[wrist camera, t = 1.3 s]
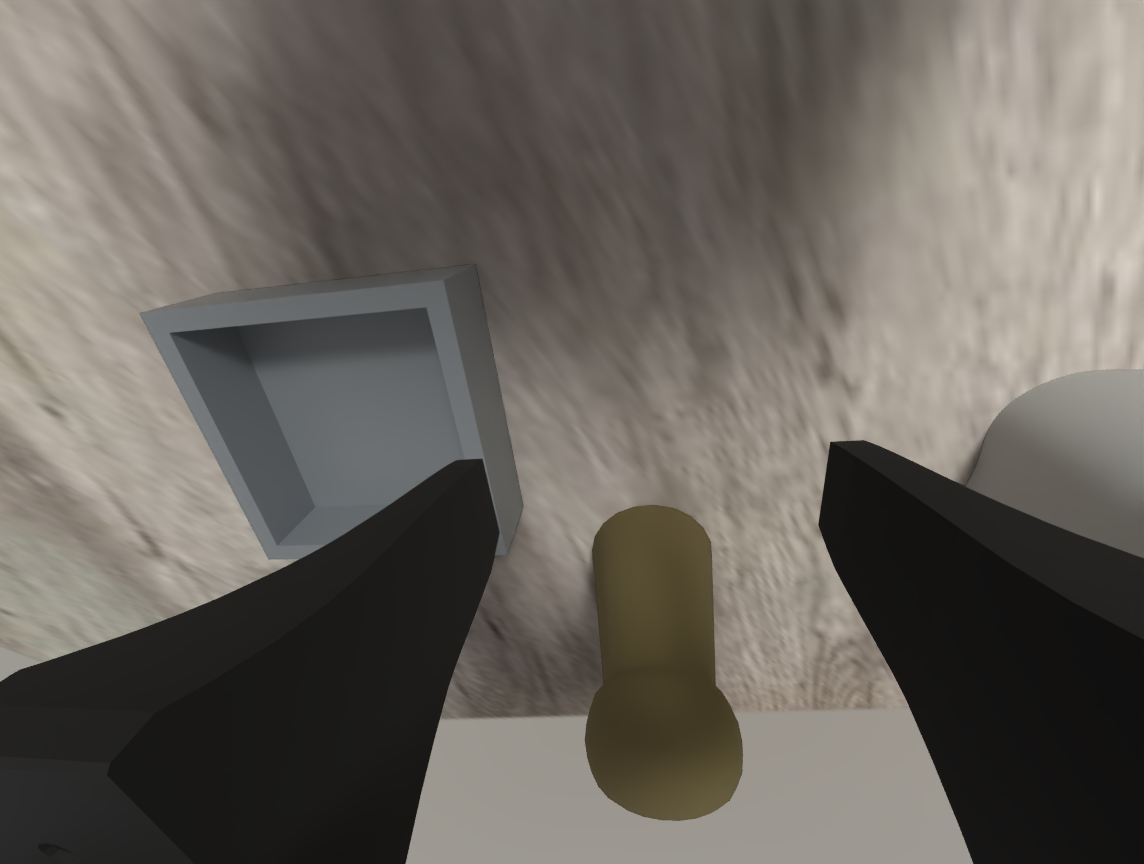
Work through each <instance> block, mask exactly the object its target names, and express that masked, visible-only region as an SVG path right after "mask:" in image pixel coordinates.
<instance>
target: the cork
mask: <svg viewBox="0 0 1144 864" xmlns="http://www.w3.org/2000/svg"><path fill="white" fill-rule="evenodd" d="M592 552H593V564H594V575H595V587H596V599H597V611H598V623H599V635H600V647H601V658H602V670H603V682H604V684H603V685H602V687H601V688H600V689H599V690H598V691H597V693H596V694H595V696H594V699H593V702H592V705H591V708H590V711H589V715H588V719H587V724H586V734H585V744H586V752H587V758H588V762H589V765H590V768H591V772H592V774H593V776H594V778H595V780H596V782H597V785H598V787H599V788H600V789H601V790H602V791H603V792H604V794H605V795H606V796H607V797H608V798H609V799H611V800H612V801H614V802H615V803H617V804H618V805H620V806H622V807H623V808H625V809H626V810H628V811H630V812H633V813H636V814H638V815H641V816H643V817H648V818H653V819H658V820H673V821H681V820H688V819H695V818H699V817H701V816H704V815H707V814H710V813H712V812H714V811H715V810H717V809H719V808H720V807H721V806H723V805H724V804H725V803H727V802H728V801H730V799H731V797H732V795H733V794H734V792H735V790H736V788H737V785H738V783H739V780H740V777H741V775H742V762H743V751H742V750H743V749H742V738H741V734H740V729H739V724H738V721H737V719H736V717H735V715H734V713H733V711H732V708H731V706H730V704H729V703H728V701H727V699H726V698H725V696H724V695H723V693H722V692H721V691H720V690H719V689H718V688H717V687H716V682H715V647H714V613H713V578H712V552H711V541H710V539H709V537H708V535H707V534H706V532H705V530H704V528H703V527H702V526H701V525H700V524H699V523H698V522H697V521H695V520H694V519H693V518H692V517H691V516H689V515H687V514H685V513H683V512H680V511H678V510H676V509H674V508H669V507H663V506H657V505H649V506H638V507H633V508H630V509H627V510H624V511H622V512H619V513H617V514H615V515H614V516H613V517H611V518H610V519H609V520H607V521H606V522H605V523H603V525H602V526H601V528H600V530H599V531H598V533H597V534H596V536H595V539H594V545H593V550H592Z"/></svg>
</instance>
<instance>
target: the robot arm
mask: <svg viewBox="0 0 1144 864" xmlns="http://www.w3.org/2000/svg"><path fill="white" fill-rule="evenodd" d="M818 525H819V528H820V531H821V533H822V536H823V539H824V542H825V544H826V547H827V550H828V552H829V555H830V557H831V560H832V562H833V565H834V567H835V570H836V571H837V573H838V575H839V577H840V579H841V581H842V583H843V585H844V586H845V588H846V590H847V592H848V594H849V595H850V597H851V599H852V601H853V603H854V605H855V606H856V608H857V610H858V612H859V614H860V615H861V617H862V619H863V621H864V623H865V624H866V626H867V628H868V630H869V631H870V633H871V635H872V637H873V639H874V640H875V642H876V644H877V646H878V648H879V649H880V651H881V653H882V655H883V657H884V658H885V660H886V662H887V664H888V665H889V667H890V669H891V671H892V673H893V675H894V677H895V679H896V681H897V682H898V684H899V686H900V688H901V690H902V692H903V694H904V696H905V698H906V700H907V703H908V705H909V707H910V710H911V712H912V714H913V716H914V719H915V721H916V723H917V726H918V728H919V730H920V733H921V735H922V737H923V740H924V742H925V744H926V746H927V749H928V751H929V753H930V756H931V758H932V760H933V763H934V765H935V768H936V770H937V773H938V775H939V778H940V780H941V783H942V785H943V787H944V790H945V792H946V795H947V797H948V800H949V802H950V805H951V807H952V810H953V812H954V815H955V817H956V819H957V822H958V824H959V827H960V829H961V832H962V835H963V837H964V840H965V843H966V845H967V848H968V851H969V853H970V856H971V858H972V861H973V864H1144V558H1142V557H1139V556H1136V555H1133V554H1131V553H1128V552H1125V551H1122V550H1120V549H1117V548H1114V547H1111V546H1109V545H1106V544H1103V543H1100V542H1097V541H1095V540H1092V539H1089V538H1086V537H1084V536H1081V535H1078V534H1076V533H1073V532H1070V531H1068V530H1065V529H1063V528H1060V527H1058V526H1055V525H1053V524H1050V523H1048V522H1045V521H1043V520H1040V519H1038V518H1036V517H1033V516H1031V515H1029V514H1026V513H1024V512H1022V511H1019V510H1017V509H1014V508H1012V507H1010V506H1007V505H1005V504H1003V503H1000V502H998V501H996V500H994V499H991V498H989V497H987V496H985V495H982V494H980V493H978V492H976V491H974V490H972V489H969V488H967V487H965V486H963V485H961V484H959V483H957V482H954V481H952V480H950V479H948V478H946V477H944V476H942V475H940V474H938V473H935V472H933V471H931V470H929V469H927V468H925V467H923V466H921V465H919V464H917V463H915V462H913V461H910V460H908V459H906V458H904V457H902V456H900V455H898V454H896V453H893V452H891V451H889V450H887V449H885V448H882V447H880V446H878V445H875V444H873V443H870V442H867V441H864V440H861V441H840V442H830V449H829V455H828V462H827V469H826V476H825V483H824V490H823V497H822V504H821V510H820V517H819V524H818ZM499 534H500V531H499V527H498V523H497V518H496V514H495V510H494V505H493V501H492V497H491V493H490V488H489V484H488V480H487V475H486V471H485V467H484V463H483V459H465V460H456V461H454V462H452V463H450V464H448V465H447V466H445V467H443V468H442V469H440V470H439V471H437V472H436V473H434V474H433V475H431V476H430V477H429V478H427V479H426V480H424V481H423V482H421V483H420V484H419V485H417V486H416V487H414V488H413V489H411V490H410V491H408V492H407V493H406V494H404V495H403V496H401V497H400V498H398V499H397V500H396V501H394V502H393V503H391V504H390V505H388V506H387V507H385V508H384V509H382V510H381V511H379V512H378V513H376V514H375V515H373V516H371V517H370V518H368V519H367V520H365V521H364V522H362V523H361V524H359V525H357V526H356V527H354V528H353V529H351V530H350V531H348V532H347V533H345V534H343V535H342V536H340V537H338V538H337V539H335V540H333V541H332V542H330V543H328V544H326V545H325V546H323V547H321V548H320V549H318V550H316V551H314V552H312V553H310V554H308V555H307V556H305V557H303V558H301V559H299V560H297V561H295V562H294V563H292V564H290V565H288V566H286V567H284V568H282V569H280V570H278V571H276V572H274V573H272V574H269V575H267V576H265V577H263V578H261V579H259V580H257V581H254V582H252V583H250V584H248V585H246V586H244V587H242V588H239V589H237V590H235V591H233V592H231V593H229V594H227V595H224V596H222V597H220V598H218V599H215V600H213V601H211V602H208V603H206V604H203V605H201V606H198V607H196V608H194V609H191V610H189V611H186V612H184V613H181V614H179V615H176V616H174V617H171V618H168V619H166V620H163V621H161V622H158V623H156V624H153V625H150V626H148V627H145V628H142V629H140V630H137V631H134V632H131V633H129V634H126V635H123V636H121V637H118V638H115V639H112V640H109V641H106V642H103V643H100V644H97V645H94V646H91V647H88V648H85V649H82V650H79V651H76V652H73V653H70V654H67V655H64V656H61V657H58V658H55V659H52V660H49V661H46V662H43V663H40V664H37V665H34V666H30V667H27V668H24V669H21V670H19V671H17V672H15V673H13V674H12V675H10V676H9V677H7V678H6V679H4V680H2V681H1V682H0V864H405V863H406V859H407V854H408V850H409V845H410V841H411V836H412V832H413V827H414V823H415V817H416V814H417V809H418V804H419V800H420V795H421V791H422V787H423V783H424V779H425V775H426V770H427V767H428V763H429V759H430V755H431V750H432V746H433V742H434V738H435V734H436V731H437V727H438V724H439V720H440V716H441V712H442V709H443V705H444V701H445V698H446V694H447V690H448V687H449V684H450V681H451V678H452V675H453V672H454V669H455V666H456V663H457V660H458V658H459V655H460V653H461V650H462V647H463V645H464V642H465V639H466V637H467V634H468V632H469V629H470V626H471V624H472V621H473V619H474V616H475V613H476V611H477V608H478V606H479V603H480V600H481V598H482V595H483V592H484V589H485V587H486V584H487V581H488V579H489V576H490V573H491V569H492V565H493V561H494V557H495V553H496V548H497V543H498V538H499Z"/></svg>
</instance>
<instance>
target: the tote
mask: <svg viewBox="0 0 1144 864" xmlns="http://www.w3.org/2000/svg"><path fill="white" fill-rule="evenodd" d="M139 314H140V316H141V318H142V320H143V321H144V323H145V325H146V327H147V329H148V331H149V333H150V335H151V337H152V339H153V340H154V342H155V344H156V346H157V348H158V350H159V352H160V354H161V356H162V358H163V359H164V361H165V363H166V365H167V367H168V369H169V371H170V373H171V375H172V377H173V378H174V380H175V382H176V384H177V386H178V388H179V390H180V392H181V394H182V396H183V398H184V399H185V401H186V403H187V405H188V407H189V409H190V411H191V413H192V415H193V417H194V418H195V420H196V422H197V424H198V426H199V428H200V430H201V432H202V434H203V436H204V437H205V439H206V441H207V443H208V445H209V447H210V449H211V451H212V453H213V455H214V456H215V458H216V460H217V462H218V464H219V466H220V468H221V470H222V472H223V474H224V475H225V477H226V479H227V481H228V483H229V485H230V487H231V489H232V491H233V493H234V495H235V496H236V498H237V500H238V502H239V504H240V506H241V508H242V510H243V512H244V514H245V515H246V517H247V519H248V521H249V523H250V525H251V527H252V529H253V531H254V533H255V534H256V536H257V538H258V540H259V542H260V544H261V546H262V548H263V550H264V552H265V553H266V555H267V557H268V559H301V558H303V557H305V556H307V555H308V554H310V553H312V552H314V551H316V550H318V549H320V548H321V547H323V546H325V545H326V544H328V543H330V542H332V541H333V540H335V539H337V538H338V537H340V536H342V535H343V534H345V533H347V532H348V531H350V530H351V529H353V528H354V527H356V526H357V525H359V524H361V523H362V522H364V521H365V520H367V519H368V518H370V517H371V516H373V515H375V514H376V513H378V512H379V511H381V510H382V509H384V508H385V507H387V506H388V505H390V504H391V503H393V502H394V501H396V500H397V499H398V498H400V497H401V496H403V495H404V494H406V493H407V492H408V491H410V490H411V489H413V488H414V487H416V486H417V485H419V484H420V483H421V482H423V481H424V480H426V479H427V478H429V477H430V476H431V475H433V474H434V473H436V472H437V471H439V470H440V469H442V468H443V467H445V466H447V465H448V464H450V463H452V462H454V461H456V460H465V459H483V463H484V467H485V471H486V475H487V480H488V484H489V488H490V493H491V497H492V501H493V505H494V510H495V514H496V518H497V523H498V527H499V531H500V534H499V538H498V543H497V548H496V553H495V556H507V554H508V551H509V548H510V545H511V542H512V539H513V536H514V533H515V530H516V527H517V524H518V521H519V518H520V515H521V512H522V509H523V502H522V496H521V491H520V486H519V481H518V476H517V471H516V466H515V461H514V456H513V451H512V446H511V441H510V436H509V431H508V426H507V421H506V416H505V411H504V406H503V401H502V396H501V391H500V386H499V381H498V375H497V370H496V365H495V360H494V355H493V350H492V345H491V340H490V335H489V330H488V325H487V320H486V315H485V310H484V305H483V300H482V295H481V290H480V285H479V280H478V275H477V270H476V265H475V264H472V265H463V266H454V267H445V268H436V269H427V270H418V271H410V272H401V273H392V274H383V275H374V276H365V277H356V278H347V279H338V280H329V281H320V282H311V283H302V284H294V285H285V286H276V287H267V288H258V289H249V290H240V291H231V292H222V293H215V294H211V295H207V296H203V297H199V298H195V299H192V300H188V301H184V302H180V303H176V304H172V305H168V306H164V307H160V308H157V309H153V310H149V311H145V312H141V313H139Z"/></svg>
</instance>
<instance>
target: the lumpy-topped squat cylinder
mask: <svg viewBox="0 0 1144 864" xmlns="http://www.w3.org/2000/svg"><path fill="white" fill-rule="evenodd" d="M965 487H967V488H969V489H972V490H974V491H976V492H978V493H980V494H982V495H985V496H987V497H989V498H991V499H994V500H996V501H998V502H1000V503H1003V504H1005V505H1007V506H1010V507H1012V508H1014V509H1017V510H1019V511H1022V512H1024V513H1026V514H1029V515H1031V516H1033V517H1036V518H1038V519H1040V520H1043V521H1045V522H1048V523H1050V524H1053V525H1055V526H1058V527H1060V528H1063V529H1065V530H1068V531H1070V532H1073V533H1076V534H1078V535H1081V536H1084V537H1086V538H1089V539H1092V540H1095V541H1097V542H1100V543H1103V544H1106V545H1109V546H1111V547H1114V548H1117V549H1120V550H1122V551H1125V552H1128V553H1131V554H1133V555H1136V556H1139V557H1142V558H1144V369H1139V370H1126V369H1112V370H1095V371H1087V372H1080V373H1075V374H1071V375H1067V376H1063V377H1060V378H1057V379H1054V380H1051V381H1049V382H1046V383H1044V384H1041V385H1039V386H1037V387H1035V388H1033V389H1031V390H1029V391H1027V392H1026V393H1024V394H1022V395H1021V396H1019V397H1018V398H1016V399H1015V400H1013V401H1012V402H1011V403H1010V404H1008V405H1007V406H1006V407H1005V408H1004V409H1003V410H1002V411H1001V412H1000V413H999V414H998V416H997V417H996V418H995V420H994V421H993V423H992V424H991V426H990V428H989V430H988V432H987V434H986V437H985V440H984V443H983V446H982V449H981V452H980V456H979V459H978V462H977V465H976V467H975V469H974V472H973V474H972V475H971V477H970V479H969V481H968V482H967V484H966V485H965Z"/></svg>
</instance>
